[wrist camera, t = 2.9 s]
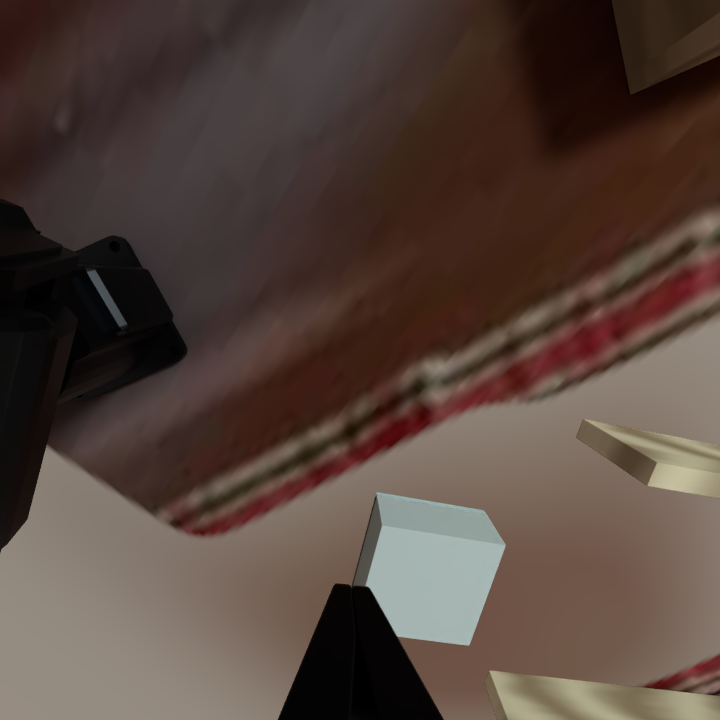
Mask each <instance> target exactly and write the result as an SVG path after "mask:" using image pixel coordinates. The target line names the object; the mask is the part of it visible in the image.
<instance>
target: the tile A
mask: <svg viewBox="0 0 720 720" xmlns="http://www.w3.org/2000/svg"><path fill="white" fill-rule="evenodd" d="M505 546H506V545H505V543H504V542H503V540H502V539H501V537H500V535H499V534H498V532H497V530H496V529H495V527H494V526H493V525H492V522H491V521H490V520H489V518H488V516H487V514H486V513H485V511H484V510H479V509H473V508H467V507H461V506H455V505H450V504H443V503H438V502H432V501H426V500H420V499H414V498H409V497H402V496H397V495H391V494H385V493H379V492H376V495H375V499H374V504H373V507H372V511H371V514H370V518H369V522H368V526H367V530H366V533H365V537H364V541H363V545H362V548H361V552H360V556H359V560H358V563H357V567H356V571H355V575H354V579H353V582H352V586H354V585H358V586H367V587H369V588H370V589H371V591H372V592H373V594H374V596H375V598H376V599H377V601H378V603H379V605H380V607H381V608H382V610H383V612H384V614H385V616H386V617H387V619H388V621H389V623H390V624H391V626H392V628H393V630H394V632H395V633H396V635H397V636H398V637H407V638H414V639H421V640H429V641H438V642H445V643H453V644H460V645H468V646H469V645H470V642H471V639H472V637H473V634H474V631H475V628H476V625H477V623H478V620H479V617H480V615H481V612H482V609H483V606H484V604H485V601H486V598H487V595H488V593H489V590H490V587H491V584H492V582H493V579H494V576H495V573H496V571H497V568H498V565H499V562H500V560H501V557H502V554H503V551H504V549H505Z"/></svg>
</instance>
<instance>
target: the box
mask: <svg viewBox="0 0 720 720" xmlns="http://www.w3.org/2000/svg"><path fill="white" fill-rule="evenodd" d="M577 438H578V439H579V440H580V441H582V442H583V443H585V444H586V445H588V446H589V447H591V448H592V449H594V450H595V451H597V452H598V453H600V454H601V455H602V456H604V457H605V458H607V459H609V460H610V461H611V462H613V463H614V464H616V465H617V466H619V467H620V468H622V469H623V470H625V471H626V472H628V473H629V474H630V475H632V476H633V477H635V478H636V479H638V480H639V481H641V482H642V483H644V484H645V485H647V486H651V487H656V488H662V489H668V490H674V491H680V492H685V493H691V494H697V495H702V496H708V497H714V498H720V445H715V444H710V443H706V442H700V441H695V440H689V439H685V438H679V437H674V436H669V435H664V434H658V433H653V432H648V431H643V430H638V429H632V428H627V427H622V426H617V425H611V424H606V423H601V422H596V421H590V420H586V419H583V421H582V423H581V426H580V429H579V431H578V434H577ZM485 686H486V689H487V692H488V695H489V697H490V700H491V703H492V705H493V709H494V712H495V714H496V717H497V720H720V696H714V695H705V694H696V693H687V692H678V691H669V690H660V689H651V688H642V687H633V686H624V685H615V684H606V683H598V682H588V681H580V680H571V679H562V678H552V677H544V676H534V675H525V674H517V673H507V672H499V671H489V673H488V675H487V678H486V681H485Z"/></svg>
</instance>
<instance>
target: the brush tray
mask: <svg viewBox="0 0 720 720" xmlns="http://www.w3.org/2000/svg"><path fill="white" fill-rule="evenodd" d="M612 5H613V10H614V15H615V20H616V25H617V30H618V35H619V40H620V45H621V50H622V55H623V60H624V65H625V70H626V75H627V80H628V85H629V90H630V95H632V94H634V93H636V92H639V91H641V90H643V89H645V88H648V87H650V86H652V85H654V84H657V83H659V82H661V81H663V80H666V79H668V78H670V77H672V76H675V75H677V74H679V73H682V72H684V71H686V70H688V69H691V68H693V67H695V66H697V65H700V64H702V63H704V62H706V61H709V60H711V59H713V58H715V57H718V56H720V0H612Z"/></svg>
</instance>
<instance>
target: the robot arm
mask: <svg viewBox="0 0 720 720" xmlns="http://www.w3.org/2000/svg"><path fill="white" fill-rule="evenodd" d="M40 233H41V232H40V231H38V230H36V229H35V227H34V226H33V224H32V222H31V221H30V219H29V217H28V216H27V214H26V212H25V211H24V209H23V207H20V206H18V205H15V204H13V203H10V202H8V201H5V200H3V199H0V552H1V549H2V548H3V547H4V546H5V545H7V544H8V542H9V541H10V540H11V539H12V538H13V536H14V535H15V534H16V532H17V531H18V530H19V529H20V528H21V526H22V525H23V524H24V523H25V521H26V520H27V518H28V515H29V511H30V507H31V503H32V499H33V495H34V491H35V487H36V484H37V480H38V476H39V472H40V468H41V464H42V460H43V456H44V453H45V449H46V445H47V441H48V437H49V433H50V429H51V425H52V421H53V417H54V414H55V410H56V406H57V405H59V404H62V403H64V402H66V401H68V400H71V399H72V400H74V401H75V402H83V401H86V400H88V399H90V398H93V397H95V396H97V395H99V394H102V393H104V392H106V391H109V390H111V389H113V388H116V387H118V386H120V385H122V384H125V383H127V382H129V381H132V380H134V379H136V378H139V377H141V376H143V375H146V374H148V373H150V372H152V371H155V370H157V369H159V368H162V367H164V366H166V365H169V364H171V363H173V362H175V361H178V360H180V359H182V358H183V357H185V356H186V354H187V347H186V345H185V343H184V341H183V339H182V338H181V336H180V334H179V332H178V330H177V329H176V327H175V325H174V323H173V321H172V319H173V314H172V312H171V310H170V308H169V306H168V305H167V303H166V301H165V299H164V297H163V296H162V294H161V292H160V290H159V288H158V287H157V285H156V283H155V281H154V279H153V278H152V276H151V274H150V272H149V271H148V270H147V269H144V268H142V266H141V264H140V262H139V260H138V259H137V257H136V255H135V253H134V251H133V250H132V248H131V246H130V244H129V243H128V241H127V240H126V239H124V238H123V237H118V236H108V237H106V238H104V239H102V240H100V241H97V242H95V243H93V244H91V245H89V246H86V247H84V248H82V249H80V250H78V251H75V252H74V251H72V250H69V249H67V248H64V247H63V245H61V244H59V243H57V242H55V241H52V240H50V239H48V238H46V237H44V236H42V235H40ZM116 242H118V243H119V245H120V250H119V251H118V252H117V251H116V250H115V248H114V245H115V243H116ZM173 346H175V347H177V348H178V349H179V354H175V353H174V352H173V350H172V348H173ZM82 394H83V395H82ZM278 720H444V719H443V717H442V716H441V714H440V712H439V710H438V708H437V707H436V705H435V703H434V701H433V699H432V698H431V696H430V694H429V692H428V691H427V689H426V687H425V685H424V683H423V682H422V680H421V678H420V676H419V674H418V673H417V671H416V669H415V667H414V666H413V664H412V662H411V660H410V659H409V657H408V655H407V653H406V651H405V649H404V648H403V646H402V644H401V643H400V641H399V639H398V637H397V635H396V633H395V632H394V630H393V628H392V626H391V624H390V623H389V621H388V619H387V617H386V616H385V614H384V612H383V610H382V608H381V607H380V605H379V603H378V601H377V599H376V598H375V596H374V594H373V592H372V591H371V589H370V588H369V587H367V586H358V585H354V586H352V587H351V586H350V585H347V584H335V585H334V586H333V588H332V591H331V593H330V595H329V598H328V600H327V603H326V605H325V607H324V610H323V612H322V615H321V618H320V620H319V622H318V624H317V627H316V629H315V631H314V634H313V636H312V639H311V641H310V644H309V646H308V648H307V651H306V653H305V655H304V658H303V660H302V663H301V665H300V667H299V670H298V672H297V675H296V677H295V679H294V682H293V684H292V687H291V689H290V692H289V694H288V696H287V699H286V701H285V703H284V706H283V708H282V711H281V713H280V716H279V718H278Z"/></svg>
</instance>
